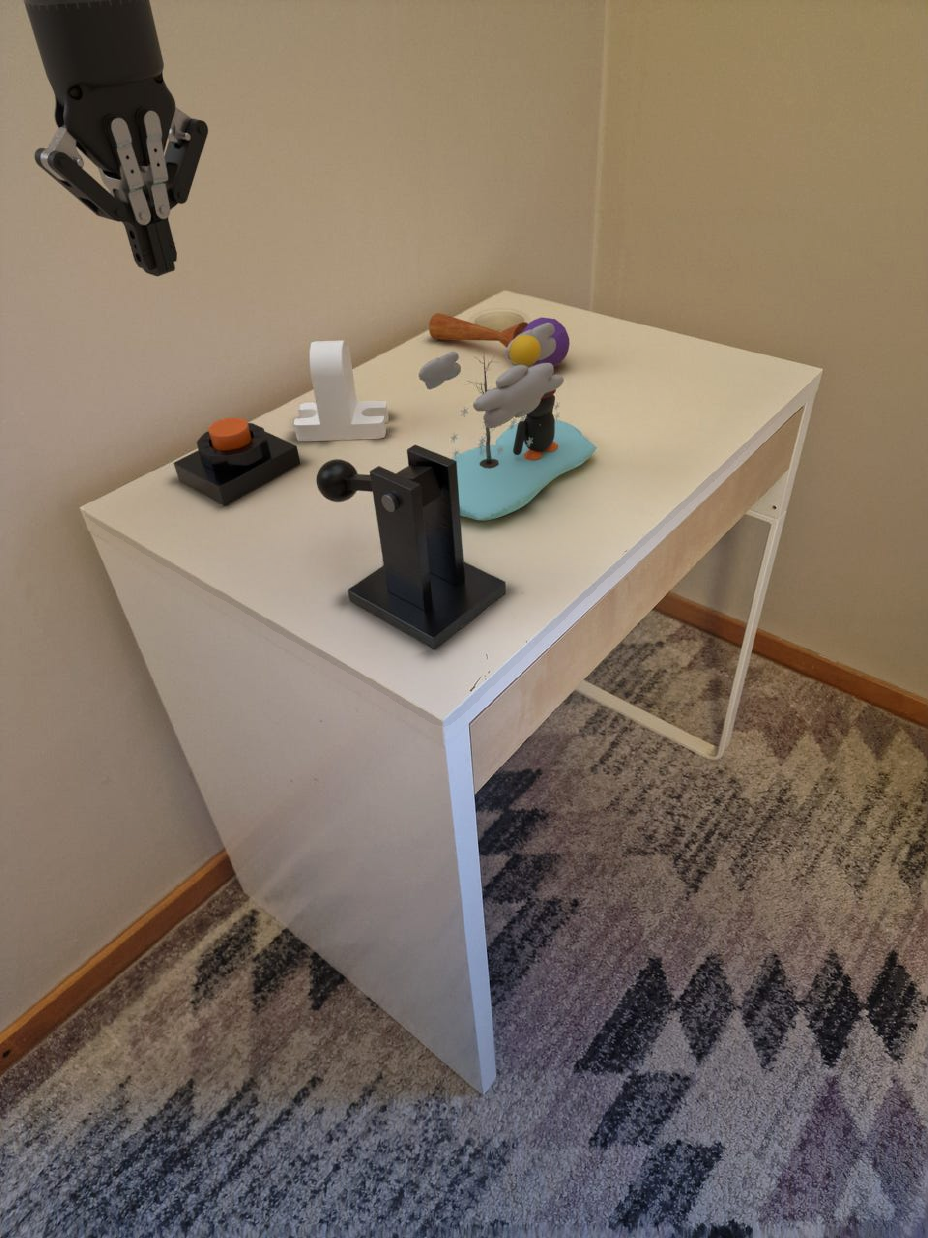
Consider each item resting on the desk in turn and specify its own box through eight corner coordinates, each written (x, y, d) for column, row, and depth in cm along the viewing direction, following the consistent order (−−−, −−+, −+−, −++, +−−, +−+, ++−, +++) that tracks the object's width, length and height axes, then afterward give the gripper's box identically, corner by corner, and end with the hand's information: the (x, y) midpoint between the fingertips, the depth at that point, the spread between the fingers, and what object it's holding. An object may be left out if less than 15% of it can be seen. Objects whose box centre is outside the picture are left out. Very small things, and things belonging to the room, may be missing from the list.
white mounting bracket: (304, 418, 98) (287, 334, 92) (389, 415, 98) (378, 330, 91) (295, 441, 94) (278, 355, 88) (384, 438, 94) (373, 351, 87)
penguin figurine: (538, 424, 94) (538, 285, 84) (616, 456, 88) (625, 311, 78) (403, 501, 84) (385, 354, 74) (481, 542, 78) (472, 388, 68)
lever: (317, 507, 74) (301, 469, 72) (347, 489, 76) (333, 451, 74) (418, 519, 64) (403, 475, 63) (450, 498, 66) (436, 455, 65)
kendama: (451, 299, 113) (580, 317, 102) (451, 345, 116) (576, 367, 105) (421, 305, 109) (552, 324, 98) (422, 353, 112) (549, 377, 101)
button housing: (224, 506, 85) (214, 471, 83) (178, 480, 90) (167, 447, 87) (300, 463, 91) (293, 430, 88) (254, 441, 95) (246, 409, 92)
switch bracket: (349, 600, 73) (324, 470, 65) (421, 550, 78) (407, 423, 69) (434, 649, 68) (420, 515, 59) (506, 592, 73) (502, 461, 64)
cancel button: (228, 455, 86) (224, 440, 84) (204, 444, 88) (200, 428, 87) (259, 439, 88) (256, 424, 87) (235, 428, 90) (232, 413, 89)
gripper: (16, 4, 48) (111, 309, 60) (206, -19, 56) (259, 256, 67) (-45, 1, 52) (55, 288, 63) (140, -20, 60) (200, 240, 71)
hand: (160, 271), depth 65 cm, fingers closed
